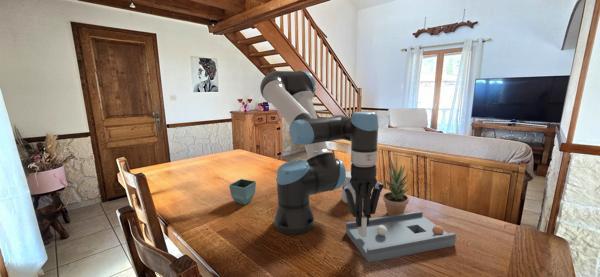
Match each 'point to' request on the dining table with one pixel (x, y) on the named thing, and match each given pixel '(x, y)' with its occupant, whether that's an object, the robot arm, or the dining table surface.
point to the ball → (381, 230)
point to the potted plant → (396, 192)
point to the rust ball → (438, 230)
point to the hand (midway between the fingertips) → (362, 234)
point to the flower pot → (242, 190)
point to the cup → (347, 182)
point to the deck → (398, 236)
